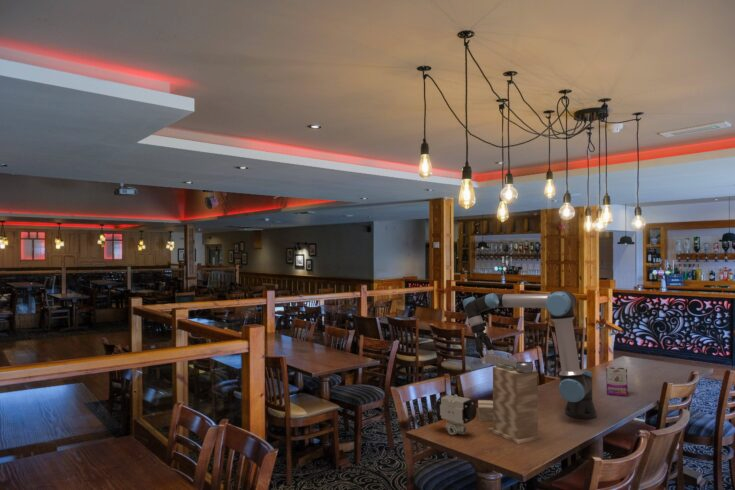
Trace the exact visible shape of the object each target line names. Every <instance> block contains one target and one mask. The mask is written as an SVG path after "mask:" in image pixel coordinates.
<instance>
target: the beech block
mask: <svg viewBox="0 0 735 490" xmlns="http://www.w3.org/2000/svg"><path fill="white" fill-rule="evenodd" d="M477 414H478V415H477V416H478V421H480V422H492V423H493V399H491V400H489V399H478V400H477Z"/></svg>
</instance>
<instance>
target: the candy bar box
mask: <svg viewBox="0 0 735 490" xmlns="http://www.w3.org/2000/svg"><path fill="white" fill-rule="evenodd" d="M605 379H606V380H605V381H606V386H605V387H606V395H608V396H617V397H628V396H629V395H628V393H629V391H628V388H629V387H628V368H627V367H626V366H617V365H615V366H614V365H606V366H605Z"/></svg>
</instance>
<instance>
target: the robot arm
mask: <svg viewBox="0 0 735 490" xmlns="http://www.w3.org/2000/svg"><path fill="white" fill-rule="evenodd" d="M577 304H578V300H577V297H576V296H575V294H574V293H572V292H571V291H568V290H560V291H550V292H549V293H494V292H492V293H488V294H486V295H483V296H482V297H478V298H476V297H474V296H469V297H467V298H464V299H463V301H462V305H463V309H464V312H465V314H466V317H467V320H468V321H467V322H468V324H469V326H470V329H471V333H472V334H473V338H474V344H475V351H476V352H477V353H478V354H479V356H480V360H481V362H482V365H484V364H485V365H486V363H485V354H486V352H485V351H484V349H483V348H484V346H485V348H486V349H487V350H488V351H487V352H488V354H495V352H494V350H495V347H494V345H493V343H492V341H491V340H490V337H489V336H488V332H485V331H486V327H485V324H484V320H483V317H482V314H481V313H482V312H485V311H488V310H491V309H495V308H523V309H525V308H529V309H530V308H532V309H533V308H534V309H546V310H547V313H549V317H550V321H552V322H553V323H554V328H555V330H554V331H555V335H556V341H557V349H558V355H559V356H558V357H559V361H560V368H561V370H560V371H559V373H558V375H559V376H558V377H559V384H558V393H559V395H560V396H561V397H562V398H563V400H564V401H566V404H565V407H564V414H565V415H567V416H568V417H572V418H574V419H582V420H583V419H585V420H589V419H590V420H591V419H595V418H597V410H596V407H595V404H594V401H593V373H592V371H590V370H587V369H581V368H580V360H579V355H578V350H577V343H576V336H575V328H574V324H573V320H574V319H575V318H576V315H575V309H576V307H577ZM483 344H484V345H483Z"/></svg>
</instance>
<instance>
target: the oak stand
mask: <svg viewBox="0 0 735 490" xmlns="http://www.w3.org/2000/svg"><path fill="white" fill-rule="evenodd" d="M492 401H493V422H492V424H493V425H492V427H488V431H489V432H491V433H493V434H494V435H497V436H499V437H502V438H504V439H506V440H509V441H511V442H513V443H515V444H518V445H519V444H524V443H527V442H532V441H536V440H540V439H544V438H543V434H541V433H539V430H538V429H539V423H538V422H539V421H538V420H539V417H538V414H539V413H538V411H539V409H538V401H539V400H538V371H537V370H536V369H535V370H534V369H532V373H530V374H523V373H518V372H516V371H514V367H510V366H506V365H503V364H499V363H497V364H496V365H495V366H493V367H492Z"/></svg>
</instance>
